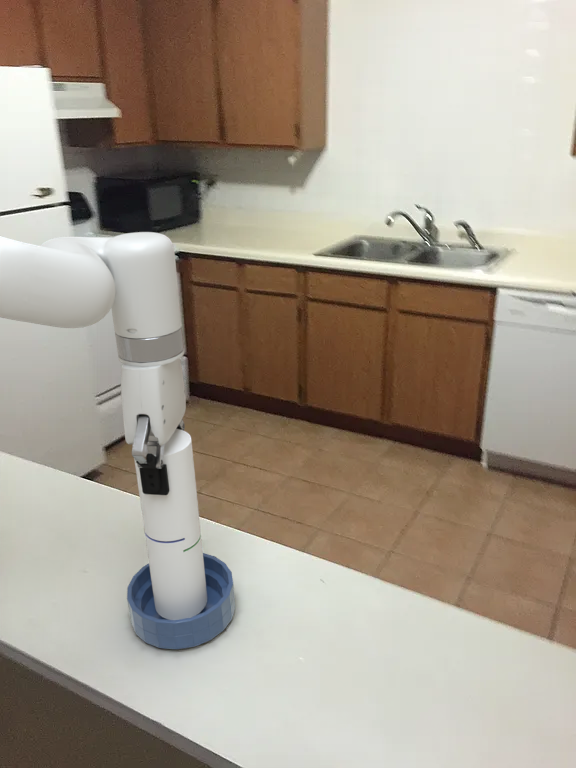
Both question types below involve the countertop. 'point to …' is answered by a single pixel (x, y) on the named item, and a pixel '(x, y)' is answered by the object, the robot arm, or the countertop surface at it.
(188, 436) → the cylindrical container
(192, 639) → the bowl
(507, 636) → the countertop surface
